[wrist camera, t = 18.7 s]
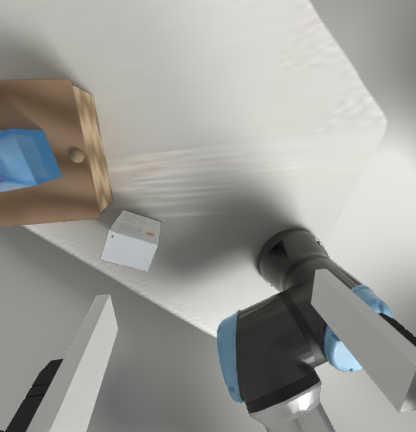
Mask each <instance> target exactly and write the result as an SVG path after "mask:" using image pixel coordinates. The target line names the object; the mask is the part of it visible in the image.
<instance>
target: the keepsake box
mask: <svg viewBox="0 0 416 432" xmlns="http://www.w3.org/2000/svg"><path fill="white" fill-rule="evenodd" d="M73 90H74V94H75V99H76V103H77V108H78V113H79V117H80V122H81V126H82V131H83V136H84V140H85V145H86V149H87V154H88V158H89V163H90V168H91V172H92V177H93V181H94V186H95V191H96V195H97V200H98V204H99V209H100V213H101V212H102V211H103V210H104V209H105V208H106V207H107V206H108V205H109V204H110V203H112V202H113V196H112V191H111V186H110V181H109V176H108V171H107V165H106V160H105V155H104V150H103V145H102V140H101V134H100V129H99V124H98V119H97V114H96V109H95V103H94V98H93V95H91V94H89V93H87V92H85V91H83V90H81V89H79V88H77V87H75V86H73Z"/></svg>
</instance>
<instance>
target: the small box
mask: <svg viewBox="0 0 416 432" xmlns="http://www.w3.org/2000/svg"><path fill="white" fill-rule="evenodd" d="M161 224H162V222H160V221H156V220H153V219H150V218H147V217H144V216H141V215H138V214H135V213H131V212H128V211H125V210H123V211H122V212H121V214H120V215H119V216H118V218H117V219H116V221H115V222H114V223H113V225H112V226H111V227H110V229H109V231H108V234H107V238H106V241H105V244H104V248H103V251H102V255H101V258H100V260H103V261H107V262H111V263H115V264H119V265H122V266H126V267H130V268H134V269H138V270H142V271H145V272H148V270H149V267H150V265H151V262H152V260H153V257H154V255H155V252H156V249H157V247H158V243H159V236H160V230H161Z"/></svg>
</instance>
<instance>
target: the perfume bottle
mask: <svg viewBox="0 0 416 432" xmlns="http://www.w3.org/2000/svg"><path fill="white" fill-rule="evenodd" d="M60 177H63V176H62V174H61V171H60V169H59V167H58V164H57V162H56V159H55V157H54V154H53V152H52V149H51V147H50V145H49V142H48V140H47V137H46V135H45V132H44V131H41V130H24V129H7V130H2V131H0V192H4V191H10V190H15V189H20V188H25V187H30V186H35V185H39V184H42V183H45V182H48V181H51V180H54V179H57V178H60Z"/></svg>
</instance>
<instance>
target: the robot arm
mask: <svg viewBox="0 0 416 432" xmlns="http://www.w3.org/2000/svg"><path fill="white" fill-rule="evenodd" d="M259 270H260V272H261V274H262V276H263V278H264V279H265V281H266V282H267V283H268V284H269V285H270V286H271V287H273V288H274V289H276V290H278V291H280V293H278V294H275V295H273V296H271V297H269V298H267V299H265V300H263V301H261V302H259V303H257V304H254V305H252V306H250V307H248V308H246V309H244V310H242V311H241V310H239V311H237V312H236V313H235V314H234V315H232V316H230V317H228V318H226V319H224V320H223V321H222V322H221V323H220V325H219V327H218V330H217V347H218V354H219V360H220V365H221V369H222V373H223V377H224V380H225V383H226V385H227V386H228V390H229V393H230V395H231V397H232V399H233V400H234V401H236V402H240V403H242V402H244V401H245V404H246V406H247V409H248V412H249V415H250V416H251V417H253V418H254V419H256V420H257V421H259V422H261V423H262V424H263V425H264V426H265V427H266V430H267V432H335V430H334V428H333V426H332V424H331V422H330V420H329V418H328V416H327V414H326V412H325V410H324V409H323V407H322V405H321V403H320V397H319V396H320V390H321V384H322V383H321V380H320V379H319V377H318V375H317V373H316V371H315V370H314V368H315V367H316V366H319V365H321V364H323V363H325V362H329V363H330V364H331V365H332V366H334V367H335V368H336V369H338V370H340V371H343V372H347V371H348V370H349V371H351V372H353V371H357V370H360V369H362V368H363V369H364V370H365V371H366V373H367V374H368V375H369V376H370V378H371V379H372V380H373V381H374V382H375V384H376V385H377V386H378V387H379V388H380V390H381V391H382V392H383V394H384V395H385V396H386V397H387V399H388V400H389V401H390V402H391V404H392V405H393V406H394V407H395V409H396V410H397V411H398V412H399V413H403V412H408V411H413V410H416V337H414V336H413V334H411V333H410V332H409V331H408V330H405V328H404V327H403V326H402V325H401V324H399V323H398V322H397V321H396V320H395V319H393V315H392V312H391V310H390V309H389V307H388V306H387V305H386V304H385V303H384V302H383V301H382V300H381V299H380V298H379V297H377V296H376V295H375V294H374V293H373V291H372V290H371V289H370V288H369V287H367V286H364V285H363V284H362V283H361V282H359V281H358V280H357V279H355V278H354V277H353V276H352V275H350V274H349V273H347V272H346V271H345V270H344V269H342V268H341V267H340V266H339V265H337V264H336V263H335V262H333V261H332V260H331V259H330V257H329V256H328V254H327V252H326V250H325V249H324V246H323V245H322V243H321V242H320V241H319V240H318V239H317V238H316V237H315V236H313V235H312V234H311V233H309V232H307V231H305V230H301V229H290V230H286V231H283V232H280V233H278V234H277V235H275V236H274V237H272V238H271V239H270V240H269V241H268V242H267V243H266V244H265V246H264V247H263V249H262V251H261V253H260V256H259ZM117 331H118V327H117V322H116V318H115V314H114V310H113V306H112V301H111V297H110V294H105V295H97V296H96V298H95V299H94V301H93V303H92V305H91V307H90V309H89V311H88V313H87V315H86V317H85V319H84V321H83V322H82V325H81V326H80V328H79V330H78V332H77V334H76V336H75V338H74V340H73V342H72V344H71V346H70V348H69V349H68V351H67V353H66V355H65V358H64V359H59V360H53V361H50V362H49V363H48V365H47V366H46V367H45V368H44V369H43V370H42V371H41V372H40V373H39V375H38V377H37V378H36V380H35V382H34V383H33V385H32V388H30V390H29V392H28V393H27V395H26V398H25V399H24V400H23V402H22V404H21V405H20V407H19V409H18V411H17V412H16V414H15V416H14V417H13V419H12V421H11V422H10V424H9V426H8V427H7V429H6V431H5V432H86V430H87V427H88V424H89V421H90V418H91V414H92V411H93V408H94V405H95V402H96V398H97V395H98V392H99V389H100V385H101V382H102V379H103V376H104V373H105V370H106V366H107V363H108V360H109V357H110V354H111V350H112V347H113V344H114V341H115V337H116V334H117ZM0 432H4V431H1V430H0Z"/></svg>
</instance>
